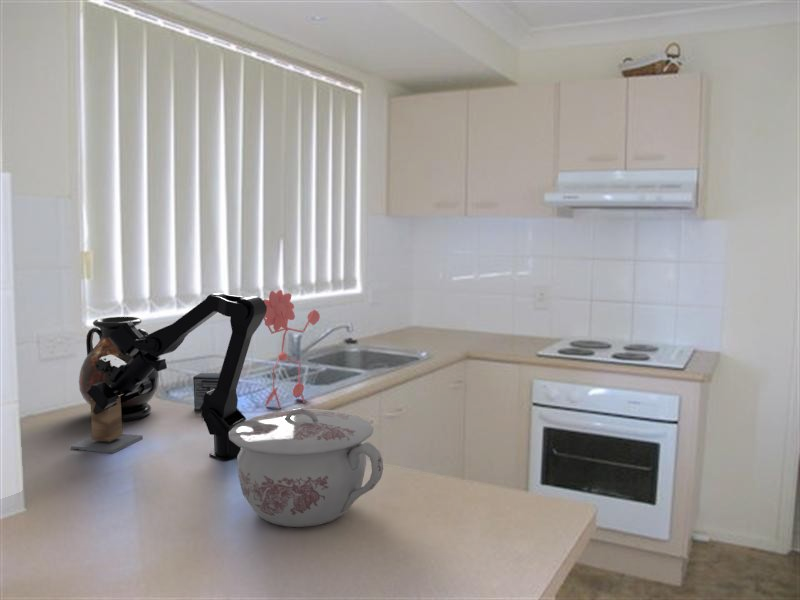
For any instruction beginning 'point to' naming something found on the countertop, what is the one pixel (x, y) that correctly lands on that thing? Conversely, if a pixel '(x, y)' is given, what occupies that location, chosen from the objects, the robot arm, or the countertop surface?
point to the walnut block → (106, 422)
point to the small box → (203, 387)
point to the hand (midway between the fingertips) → (101, 410)
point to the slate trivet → (107, 444)
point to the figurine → (278, 316)
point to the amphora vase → (105, 347)
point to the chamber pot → (304, 464)
